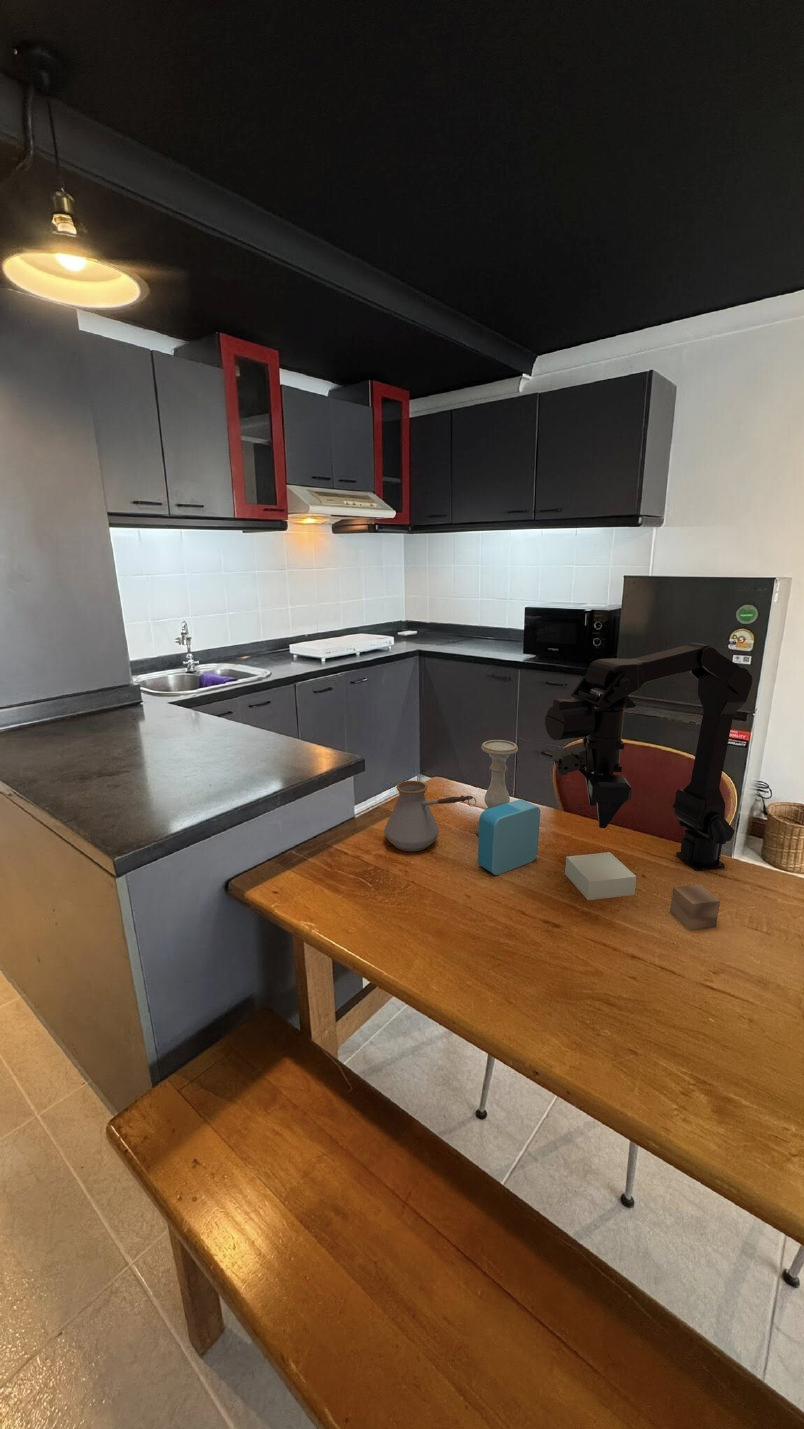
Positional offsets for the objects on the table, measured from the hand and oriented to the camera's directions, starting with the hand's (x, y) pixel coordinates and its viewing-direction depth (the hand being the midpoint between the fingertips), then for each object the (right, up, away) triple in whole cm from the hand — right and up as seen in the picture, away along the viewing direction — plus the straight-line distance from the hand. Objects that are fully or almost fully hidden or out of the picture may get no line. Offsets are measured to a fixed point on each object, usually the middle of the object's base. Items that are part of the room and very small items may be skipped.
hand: (597, 816), depth 105 cm
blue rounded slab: (-14, -11, +10) cm, 21 cm away
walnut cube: (+13, -16, -7) cm, 22 cm away
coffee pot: (-30, -10, +15) cm, 35 cm away
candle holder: (-15, -8, +23) cm, 28 cm away
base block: (+1, -13, +3) cm, 14 cm away
